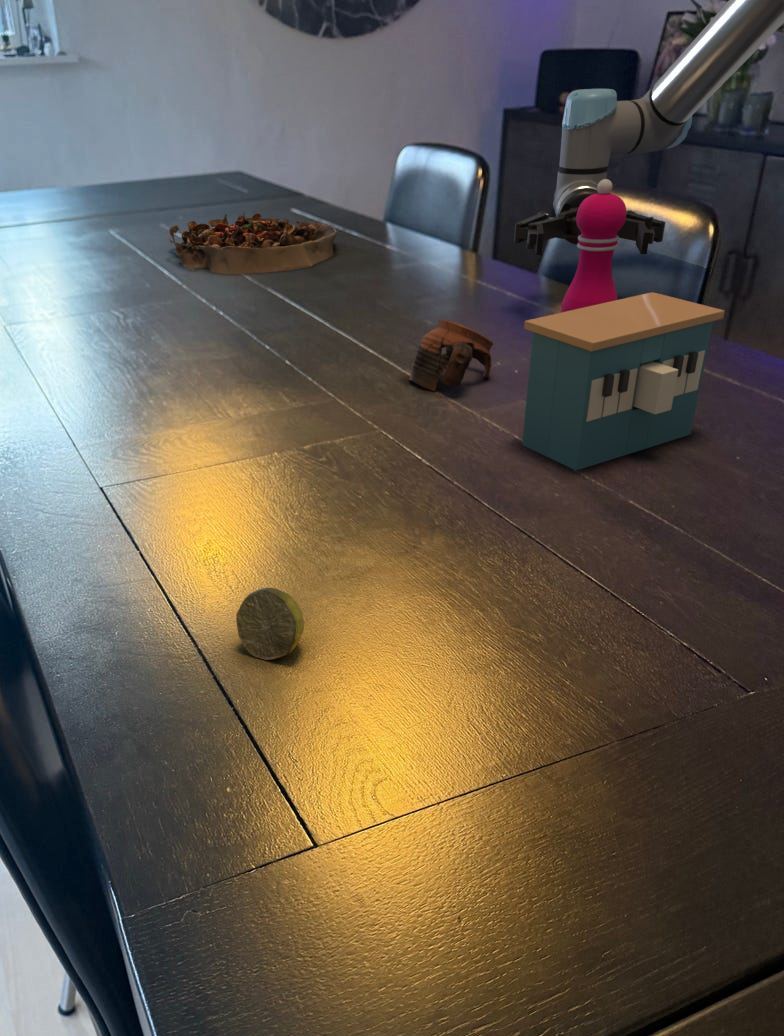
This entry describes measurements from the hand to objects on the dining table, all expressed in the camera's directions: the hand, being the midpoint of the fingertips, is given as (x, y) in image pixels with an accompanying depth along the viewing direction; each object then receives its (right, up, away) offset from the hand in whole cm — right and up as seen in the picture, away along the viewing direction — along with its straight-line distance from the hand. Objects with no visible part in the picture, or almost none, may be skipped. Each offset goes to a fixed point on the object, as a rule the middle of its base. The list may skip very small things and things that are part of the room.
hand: (592, 244), depth 124 cm
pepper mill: (-1, -13, +1) cm, 13 cm away
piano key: (-5, -30, -33) cm, 44 cm away
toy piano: (-7, -32, -26) cm, 42 cm away
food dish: (-48, +23, +58) cm, 78 cm away
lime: (-41, -54, -56) cm, 88 cm away
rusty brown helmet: (-20, -21, -10) cm, 31 cm away
